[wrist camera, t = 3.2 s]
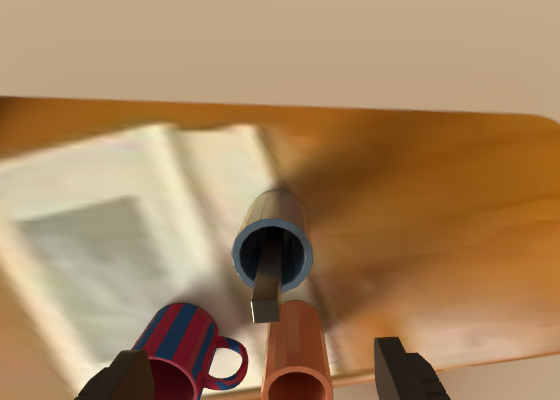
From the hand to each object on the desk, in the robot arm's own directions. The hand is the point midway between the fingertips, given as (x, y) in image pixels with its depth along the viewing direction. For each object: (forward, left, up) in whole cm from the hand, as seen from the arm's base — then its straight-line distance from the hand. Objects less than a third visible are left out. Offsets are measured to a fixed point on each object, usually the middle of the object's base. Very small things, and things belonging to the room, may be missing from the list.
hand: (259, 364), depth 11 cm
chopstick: (0, 0, -16) cm, 16 cm away
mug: (+2, -14, -17) cm, 22 cm away
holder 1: (0, 0, -17) cm, 17 cm away
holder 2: (+8, -7, -17) cm, 20 cm away
